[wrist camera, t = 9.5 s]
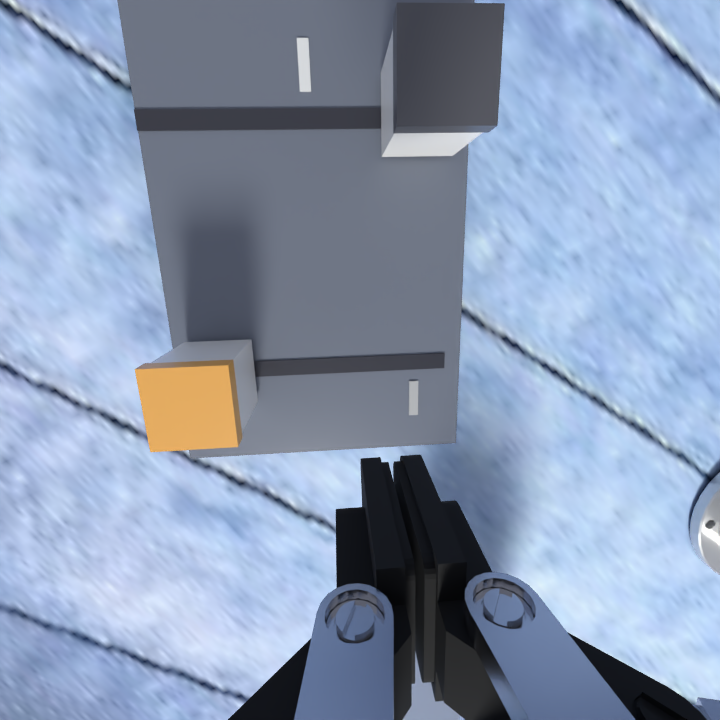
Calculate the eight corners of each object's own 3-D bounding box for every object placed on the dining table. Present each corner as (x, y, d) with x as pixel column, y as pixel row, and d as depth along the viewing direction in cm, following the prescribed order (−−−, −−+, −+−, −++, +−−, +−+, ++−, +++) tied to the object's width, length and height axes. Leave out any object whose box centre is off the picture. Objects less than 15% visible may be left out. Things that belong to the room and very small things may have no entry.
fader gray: (457, 71, 21) (504, 3, 15) (454, 157, 22) (497, 125, 16) (378, 71, 21) (396, 2, 15) (379, 158, 22) (396, 126, 16)
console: (462, 9, 22) (475, -15, 20) (447, 430, 29) (456, 443, 27) (134, 6, 21) (113, -19, 19) (199, 444, 28) (189, 459, 26)
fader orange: (252, 337, 24) (228, 365, 18) (259, 402, 25) (238, 447, 19) (182, 340, 24) (134, 369, 18) (192, 405, 25) (150, 452, 19)
